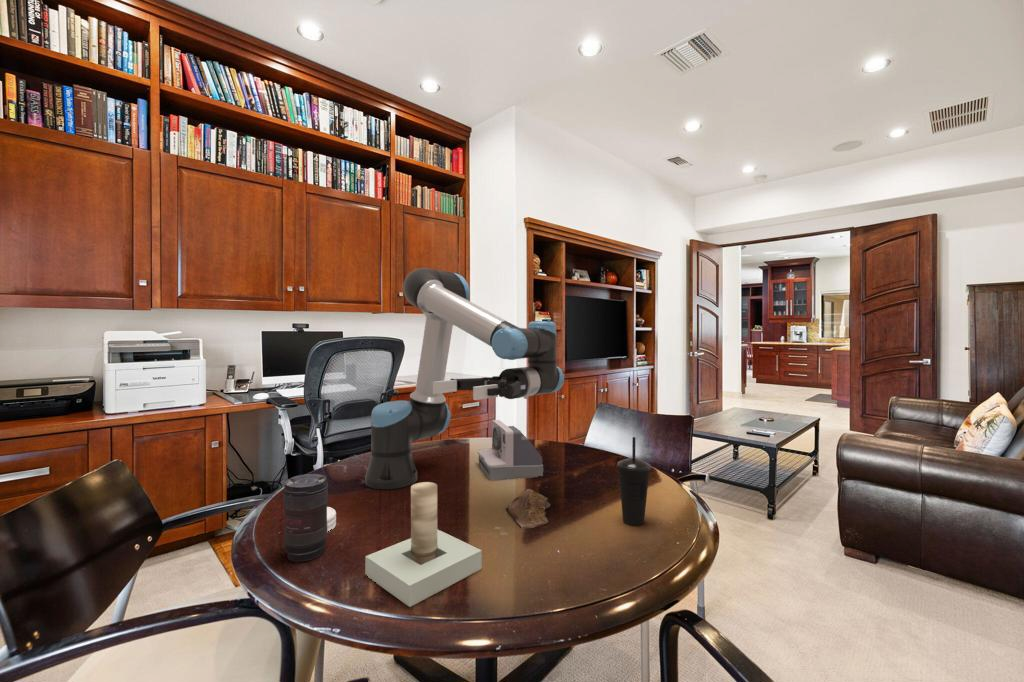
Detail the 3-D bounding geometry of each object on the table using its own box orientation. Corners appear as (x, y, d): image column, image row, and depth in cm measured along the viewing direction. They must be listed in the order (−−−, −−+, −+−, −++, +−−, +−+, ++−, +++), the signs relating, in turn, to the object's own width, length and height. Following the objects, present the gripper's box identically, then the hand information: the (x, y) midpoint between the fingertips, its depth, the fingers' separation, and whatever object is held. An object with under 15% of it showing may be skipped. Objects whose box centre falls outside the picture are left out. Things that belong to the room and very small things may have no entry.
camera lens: (282, 567, 84) (281, 488, 84) (285, 548, 91) (284, 476, 91) (328, 559, 87) (328, 483, 87) (327, 541, 94) (327, 471, 94)
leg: (405, 572, 82) (405, 486, 82) (427, 562, 86) (426, 480, 86) (421, 582, 79) (421, 493, 79) (443, 571, 83) (442, 486, 82)
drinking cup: (650, 517, 107) (651, 435, 107) (649, 530, 100) (650, 442, 100) (618, 513, 110) (619, 432, 109) (615, 525, 102) (615, 439, 102)
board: (365, 575, 81) (365, 556, 81) (435, 544, 93) (435, 528, 93) (409, 607, 72) (409, 585, 72) (481, 568, 84) (481, 550, 84)
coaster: (288, 542, 94) (288, 526, 94) (287, 524, 103) (287, 509, 103) (338, 533, 99) (338, 517, 99) (334, 517, 108) (333, 502, 108)
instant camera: (477, 462, 154) (477, 419, 154) (535, 460, 157) (536, 417, 156) (479, 482, 133) (479, 432, 133) (547, 479, 136) (547, 430, 135)
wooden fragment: (547, 531, 100) (547, 526, 100) (499, 528, 102) (499, 524, 102) (552, 491, 126) (552, 487, 126) (513, 490, 127) (513, 486, 127)
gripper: (558, 402, 103) (493, 415, 88) (483, 393, 120) (418, 401, 105) (558, 370, 103) (493, 377, 88) (483, 365, 120) (418, 370, 104)
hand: (452, 390), depth 96 cm, fingers open, 13 cm apart
